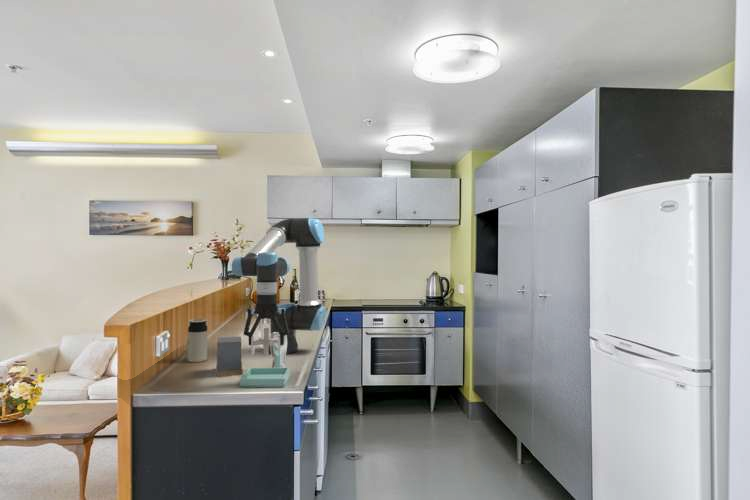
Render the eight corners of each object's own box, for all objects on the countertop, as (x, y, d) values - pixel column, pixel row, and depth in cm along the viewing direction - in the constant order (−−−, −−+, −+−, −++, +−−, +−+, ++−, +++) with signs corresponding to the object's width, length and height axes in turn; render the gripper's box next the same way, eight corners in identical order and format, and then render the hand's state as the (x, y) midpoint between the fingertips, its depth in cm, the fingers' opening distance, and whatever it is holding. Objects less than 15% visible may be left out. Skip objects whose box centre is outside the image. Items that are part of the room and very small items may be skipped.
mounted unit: (216, 368, 182) (216, 337, 182) (241, 366, 185) (242, 335, 185) (215, 376, 169) (215, 343, 169) (242, 374, 172) (242, 341, 172)
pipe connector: (284, 355, 163) (284, 328, 163) (259, 359, 157) (259, 331, 157) (272, 351, 171) (272, 325, 171) (247, 354, 165) (248, 327, 165)
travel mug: (209, 358, 199) (210, 318, 199) (203, 362, 191) (203, 321, 191) (191, 358, 199) (192, 318, 199) (184, 362, 191) (185, 321, 191)
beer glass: (290, 368, 182) (290, 332, 182) (281, 372, 176) (281, 335, 176) (275, 367, 184) (275, 331, 185) (266, 371, 178) (266, 334, 178)
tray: (249, 375, 171) (249, 367, 171) (289, 375, 172) (289, 367, 172) (239, 387, 155) (239, 379, 156) (284, 387, 157) (284, 378, 157)
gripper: (234, 294, 160) (234, 356, 159) (295, 294, 161) (294, 355, 161) (239, 292, 167) (239, 351, 167) (297, 292, 169) (296, 351, 168)
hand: (266, 353), depth 164 cm, fingers closed on pipe connector, 9 cm apart
